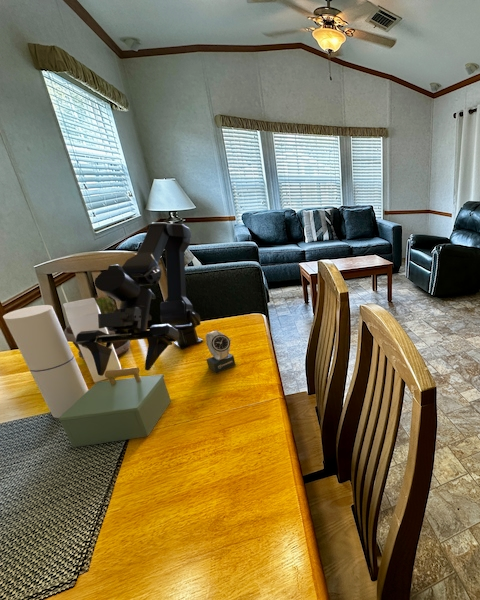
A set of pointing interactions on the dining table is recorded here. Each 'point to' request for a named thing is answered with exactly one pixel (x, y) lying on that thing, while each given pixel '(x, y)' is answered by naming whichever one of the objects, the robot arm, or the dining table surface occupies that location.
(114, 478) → the dining table surface
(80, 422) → the green hinged box
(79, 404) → the lid
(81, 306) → the milk
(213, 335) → the watch
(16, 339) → the cylindrical container
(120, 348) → the flowerpot
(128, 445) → the dining table surface
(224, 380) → the dining table surface
